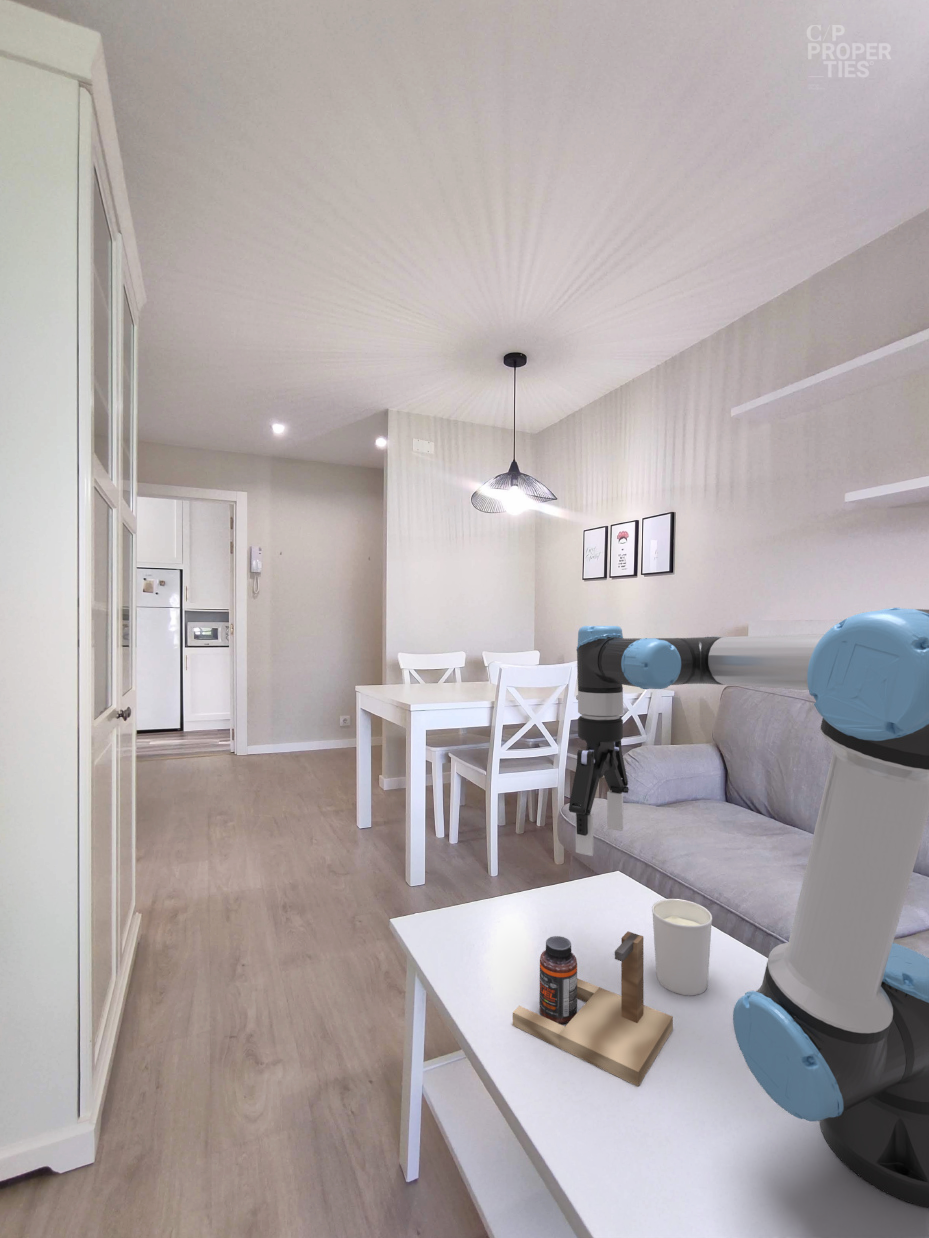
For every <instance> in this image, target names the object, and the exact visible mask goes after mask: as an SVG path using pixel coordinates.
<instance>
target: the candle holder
mask: <svg viewBox="0 0 929 1238" xmlns="http://www.w3.org/2000/svg"><path fill="white" fill-rule="evenodd" d="M651 913H652V922H653V923H652V924H653V926H652V928H653V940H654V941H653V943H654V958H655V973H656V979H657V981H658V983H659V984H660V985H661V986H662V987H663V988H665V989H666V990H668V991H670V992H673V993H674V994H678V995H682V996H699V995H701V994H703V993H705V991H706V990H707V988H708V986H709V985H708V984H709V973H710V972H709V970H710V968H709V967H710V958H711V957H710V953H711V952H710V951H711V941H712V940H711V938H712V925H713V924H712V922H713V915H712V913H711V912H710V911H709V909H707V908H706V907H704V906H702V905H701V904H699V903H696V902H693V901H690V900H685V899H681V898H666V899H661V900H658V901H656V902H654V903H653V904H652V906H651Z"/></svg>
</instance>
